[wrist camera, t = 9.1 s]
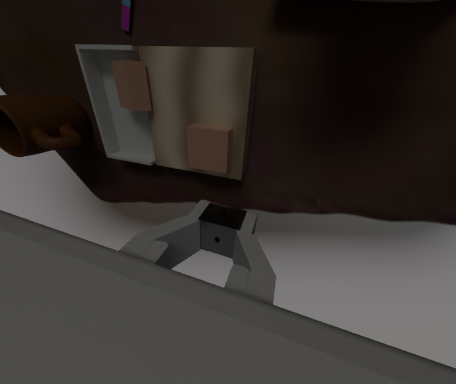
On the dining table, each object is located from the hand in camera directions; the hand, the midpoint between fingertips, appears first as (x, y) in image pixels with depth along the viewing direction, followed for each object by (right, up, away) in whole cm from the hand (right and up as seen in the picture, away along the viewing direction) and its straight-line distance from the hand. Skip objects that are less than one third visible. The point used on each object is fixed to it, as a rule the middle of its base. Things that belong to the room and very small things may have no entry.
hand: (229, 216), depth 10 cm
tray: (-14, +13, +17) cm, 26 cm away
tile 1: (-11, +15, +14) cm, 23 cm away
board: (-3, +11, +15) cm, 19 cm away
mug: (-24, +13, +22) cm, 35 cm away
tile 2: (-2, +7, +14) cm, 16 cm away
